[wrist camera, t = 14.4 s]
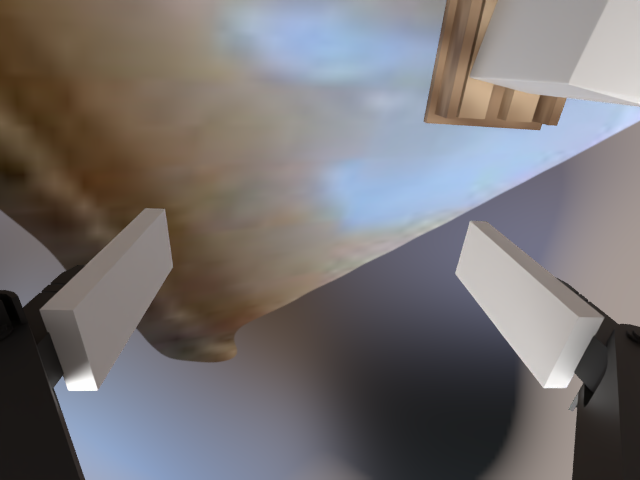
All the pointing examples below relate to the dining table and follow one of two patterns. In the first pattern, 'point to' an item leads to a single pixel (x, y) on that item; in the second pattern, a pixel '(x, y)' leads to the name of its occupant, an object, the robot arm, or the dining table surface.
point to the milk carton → (564, 49)
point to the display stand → (475, 95)
